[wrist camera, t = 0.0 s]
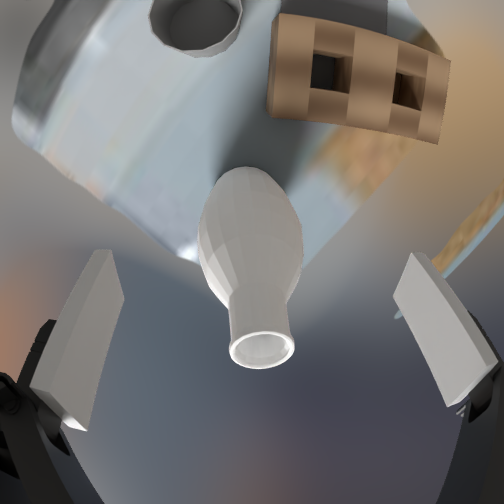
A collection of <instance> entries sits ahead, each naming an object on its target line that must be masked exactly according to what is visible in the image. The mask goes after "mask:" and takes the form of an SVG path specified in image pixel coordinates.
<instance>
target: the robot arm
mask: <svg viewBox="0 0 504 504" xmlns="http://www.w3.org/2000/svg"><path fill="white" fill-rule="evenodd" d="M393 298H394V300H395V301H396V303H397V305H398V307H399V309H400V310H401V312H402V314H403V316H404V318H405V320H406V322H407V323H408V325H409V327H410V329H411V331H412V333H413V335H414V337H415V339H416V341H417V343H418V345H419V346H420V349H421V351H422V353H423V355H424V357H425V359H426V361H427V363H428V365H429V367H430V369H431V371H432V374H433V376H434V378H435V380H436V382H437V385H438V387H439V389H440V392H441V394H442V396H443V399H444V401H445V403H446V406H447V407H448V406H451V405H453V404H456V403H459V402H460V401H461V400H462V399H463V398H464V397H465V396H467V395H469V397H470V399H469V400H468V401H467V402H466V403H465V404H464V405H462V406H461V407H460V408H459V409H458V410H457V413H456V414H459V413H460V412H461V411H462V410H464V409H465V411H464V412H463V413H462V414H461V416H462V417H463V420H462V425H461V429H460V433H459V437H458V441H457V444H456V448H455V451H454V455H453V458H452V461H451V465H450V467H449V471H448V474H447V476H446V479H445V482H444V485H443V487H442V490H441V492H440V495H439V498H438V500H437V502H436V504H504V362H503V361H502V359H501V357H500V356H499V354H498V352H497V350H496V349H495V347H494V345H493V344H492V342H491V340H490V339H489V337H488V336H486V332H485V331H484V329H482V326H481V325H480V323H479V322H478V320H477V319H476V318H475V317H474V316H473V315H472V314H471V313H470V312H469V311H467V310H466V309H465V307H464V306H463V304H462V303H461V302H460V300H459V299H458V297H457V296H456V295H455V293H454V292H453V290H452V289H451V287H450V286H449V285H448V284H447V282H446V281H445V279H444V278H443V277H442V275H441V274H440V273H439V271H438V270H437V269H436V268H435V266H434V265H433V264H432V262H431V261H430V260H429V259H428V257H427V256H426V255H425V254H424V253H423V252H411V254H410V257H409V259H408V262H407V264H406V267H405V269H404V272H403V274H402V277H401V279H400V281H399V284H398V286H397V288H396V291H395V293H394V295H393ZM123 302H124V296H123V292H122V289H121V285H120V282H119V278H118V275H117V271H116V267H115V263H114V259H113V255H112V251H111V250H95V251H94V253H93V254H92V256H91V258H90V260H89V261H88V263H87V265H86V266H85V268H84V270H83V272H82V273H81V275H80V277H79V279H78V281H77V283H76V284H75V286H74V288H73V290H72V292H71V294H70V296H69V298H68V300H67V301H66V303H65V306H64V307H63V309H62V311H61V313H60V315H59V318H58V320H51V319H49V320H48V321H47V322H46V323H45V324H44V325H43V326H42V327H41V328H40V330H39V332H38V334H37V336H36V338H35V343H33V345H32V347H31V349H30V350H31V352H29V354H28V356H27V358H26V361H25V363H24V365H23V368H22V370H21V373H20V375H19V378H18V381H17V383H15V382H14V381H13V379H12V378H11V377H10V376H9V375H7V374H6V373H2V372H0V504H104V502H103V501H102V499H101V498H100V496H99V495H98V493H97V492H96V490H95V488H94V487H93V485H92V484H91V482H90V480H89V479H88V477H87V476H86V474H85V472H84V470H83V469H82V467H81V465H80V463H79V462H78V460H77V458H76V456H75V454H74V453H73V450H72V448H71V446H70V445H69V442H68V440H67V438H66V436H65V434H64V432H63V431H62V429H61V428H60V425H61V421H63V422H64V423H66V424H67V425H68V426H69V427H72V428H76V429H80V430H84V431H88V426H89V422H90V417H91V413H92V408H93V404H94V400H95V396H96V392H97V388H98V384H99V380H100V376H101V372H102V369H103V365H104V362H105V358H106V355H107V352H108V348H109V345H110V341H111V338H112V335H113V332H114V329H115V326H116V323H117V320H118V317H119V313H120V311H121V308H122V305H123Z"/></svg>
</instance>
